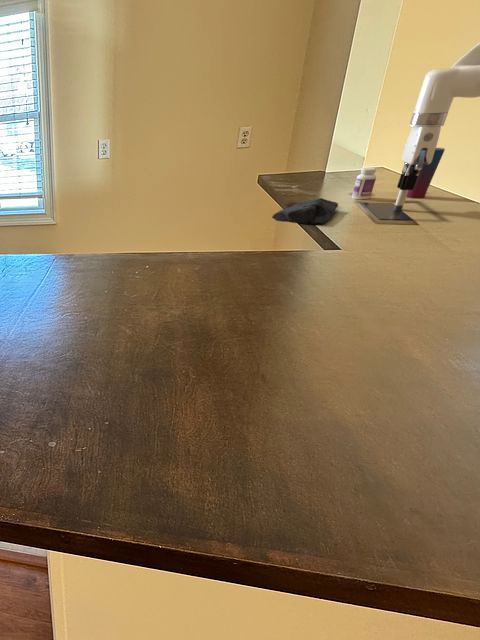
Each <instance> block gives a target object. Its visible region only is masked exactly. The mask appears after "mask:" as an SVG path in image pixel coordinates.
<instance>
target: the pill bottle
mask: <svg viewBox="0 0 480 640" xmlns="http://www.w3.org/2000/svg"><path fill="white" fill-rule="evenodd" d="M376 171H377V168H376V167H362V168H361V169H360V174H358V175H357V176H356V180H355V183H354V186H353V190H352V194H351V198H352V199H354V200H369V199H370V198H371V196H372V193H373V190H374V186H375V183H376V179H377V176H376Z"/></svg>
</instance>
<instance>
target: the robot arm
mask: <svg viewBox="0 0 480 640" xmlns="http://www.w3.org/2000/svg"><path fill="white" fill-rule="evenodd" d="M455 98H469V99H472V98H480V42H479V43H477V44H475V46H473V47H472V48H470V50H468V51H467V52H466V53H465V54H463V55H462V56H461V57H460V58H459V59H458V60H457V61H456V62H455V63H454V64H452V65H451V67H448V68H446V67H445V68H435V69H431V70H429V71H427V73H426V74H425V76H424V78H423V83H422V85H421V88H420V91H419V94H418V98H417V100H416V103H415V107H414V110H413V112H412V113H413V114H412V116H411V119H410V123H409V125H408V127H411V129H410V132H409V135H408V136H407V140H406V143H405V144H404V149H403V152H402V155H401V160H402V162H403V163H404V164H403V166H402V170H401V174H400V177H399V180H398V183H397V186H396V188H398V189H399V191H400V190H413V189H414V186H415V183H416V180H417V177H418V175H419V172H420V170H421V169H422V167H423V163H424V164H426V165H428V164H430V163H431V162H432V159H433V156H434V152H435V149H436V148H437V145H438V142H439V139H440V134H441V129H442V127H444V125H445V123H446V120H447V117H448V115H449V111H450V108H451V106H452V103H453V101H454V99H455ZM407 168H408V169H407ZM411 168H412V169H411ZM406 170H407V172H406ZM405 173H406V175H405Z"/></svg>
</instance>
